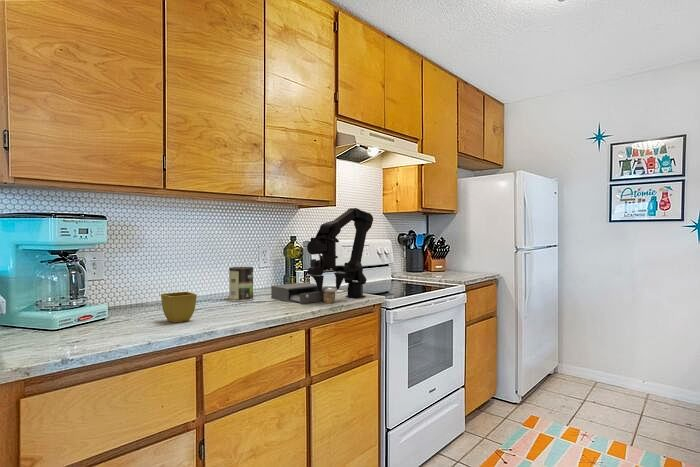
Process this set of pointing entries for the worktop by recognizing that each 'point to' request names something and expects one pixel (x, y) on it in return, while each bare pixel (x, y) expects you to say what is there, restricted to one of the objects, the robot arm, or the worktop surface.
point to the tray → (308, 297)
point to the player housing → (291, 290)
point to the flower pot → (178, 306)
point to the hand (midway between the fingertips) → (329, 290)
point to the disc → (329, 289)
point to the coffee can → (240, 284)
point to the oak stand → (328, 297)
